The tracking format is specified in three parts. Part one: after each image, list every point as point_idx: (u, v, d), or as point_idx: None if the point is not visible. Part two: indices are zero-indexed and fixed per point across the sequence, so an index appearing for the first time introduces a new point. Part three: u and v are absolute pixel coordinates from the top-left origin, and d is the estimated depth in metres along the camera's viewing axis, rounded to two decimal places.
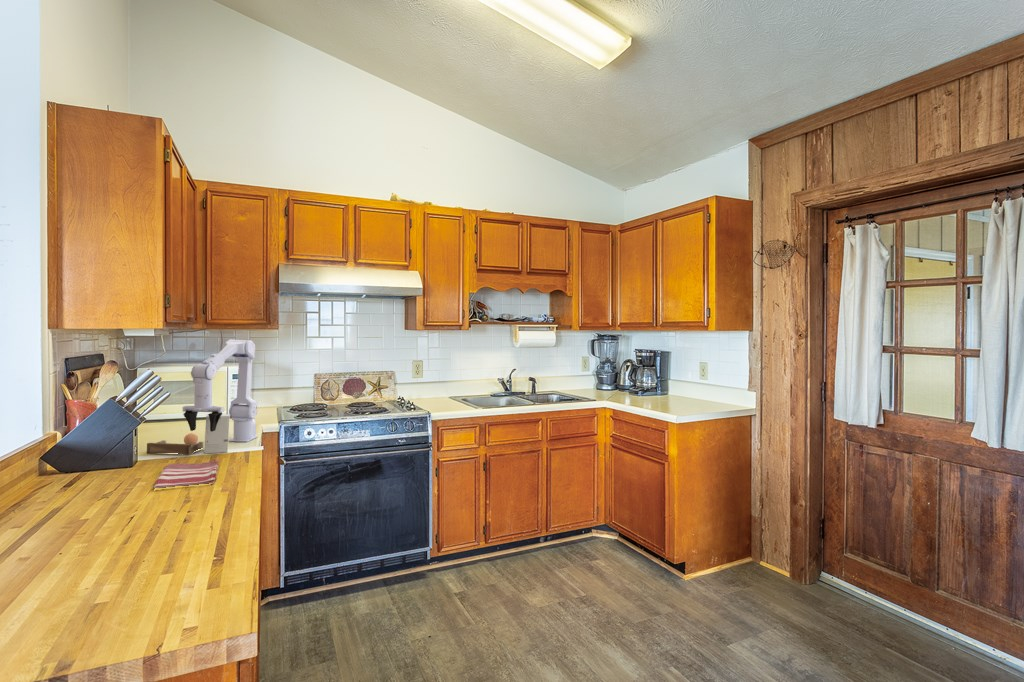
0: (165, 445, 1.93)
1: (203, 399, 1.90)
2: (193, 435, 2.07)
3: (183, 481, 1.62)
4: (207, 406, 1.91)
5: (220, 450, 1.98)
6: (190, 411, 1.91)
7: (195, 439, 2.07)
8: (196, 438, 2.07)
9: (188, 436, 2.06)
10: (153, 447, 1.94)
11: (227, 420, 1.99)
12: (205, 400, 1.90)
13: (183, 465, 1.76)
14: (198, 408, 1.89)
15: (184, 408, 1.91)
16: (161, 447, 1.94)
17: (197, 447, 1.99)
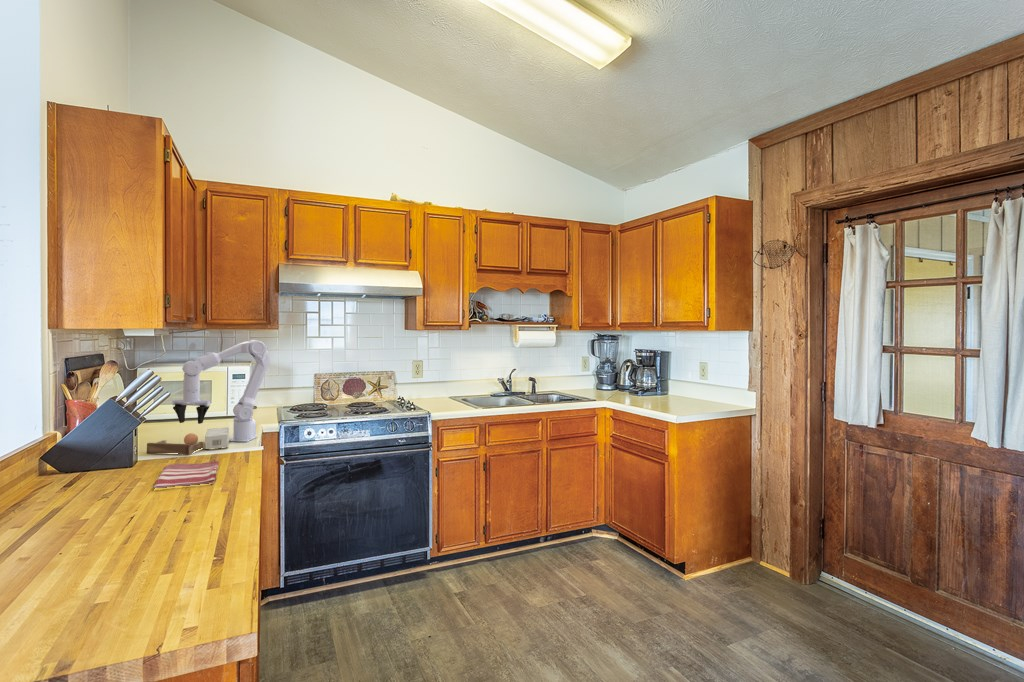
0: (165, 445, 1.93)
1: (191, 393, 2.04)
2: (193, 435, 2.07)
3: (183, 481, 1.62)
4: (195, 400, 2.05)
5: (220, 434, 2.04)
6: (179, 405, 2.06)
7: (195, 439, 2.07)
8: (196, 438, 2.07)
9: (188, 436, 2.06)
10: (153, 447, 1.94)
11: (227, 428, 2.15)
12: (193, 394, 2.05)
13: (183, 465, 1.76)
14: (186, 402, 2.03)
15: (174, 402, 2.06)
16: (161, 447, 1.94)
17: (197, 447, 1.99)
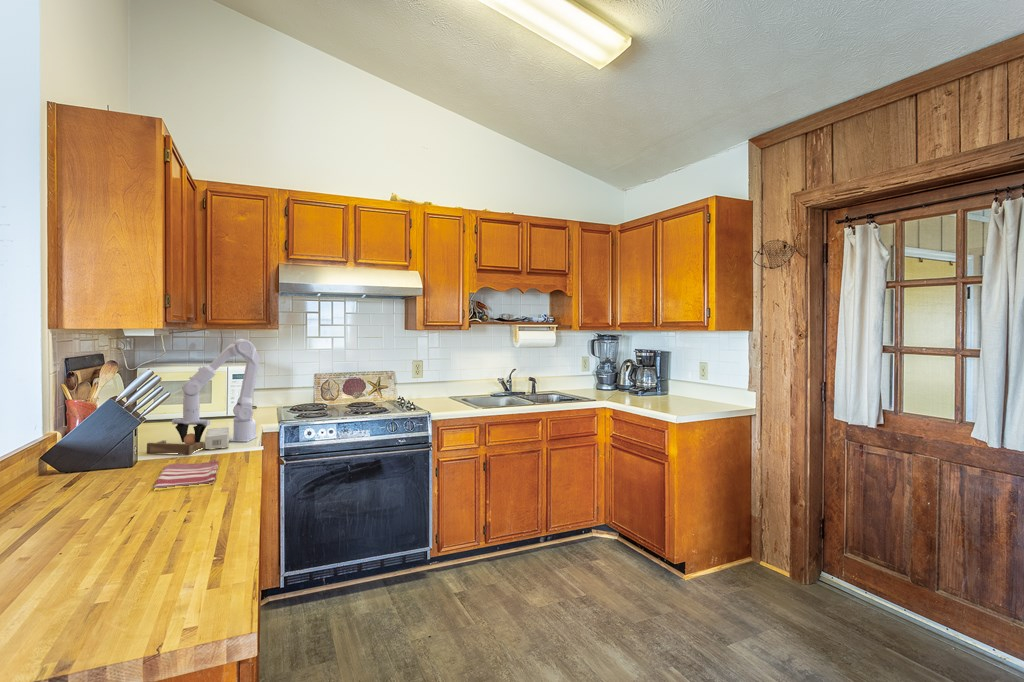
0: (165, 445, 1.93)
1: (191, 413, 2.05)
2: (193, 435, 2.07)
3: (183, 481, 1.62)
4: (195, 419, 2.06)
5: (220, 434, 2.04)
6: (179, 424, 2.06)
7: None
8: None
9: (188, 436, 2.06)
10: (153, 447, 1.94)
11: (227, 428, 2.15)
12: (193, 414, 2.05)
13: (183, 465, 1.76)
14: (186, 421, 2.04)
15: (173, 421, 2.06)
16: (161, 447, 1.94)
17: (197, 447, 1.99)
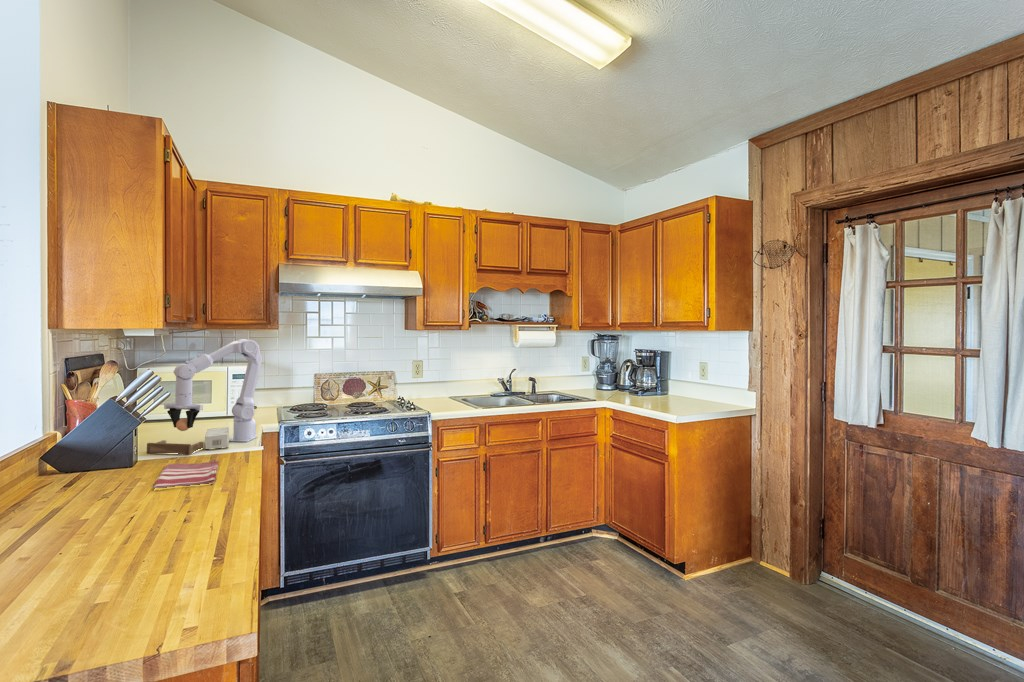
0: (165, 445, 1.93)
1: (183, 397, 2.00)
2: (186, 420, 2.02)
3: (183, 481, 1.62)
4: (187, 404, 2.01)
5: (220, 434, 2.04)
6: (171, 408, 2.02)
7: None
8: None
9: (180, 421, 2.01)
10: (153, 447, 1.94)
11: (227, 428, 2.15)
12: (185, 398, 2.00)
13: (183, 465, 1.76)
14: (178, 406, 1.99)
15: (166, 406, 2.01)
16: (161, 447, 1.94)
17: (197, 447, 1.99)
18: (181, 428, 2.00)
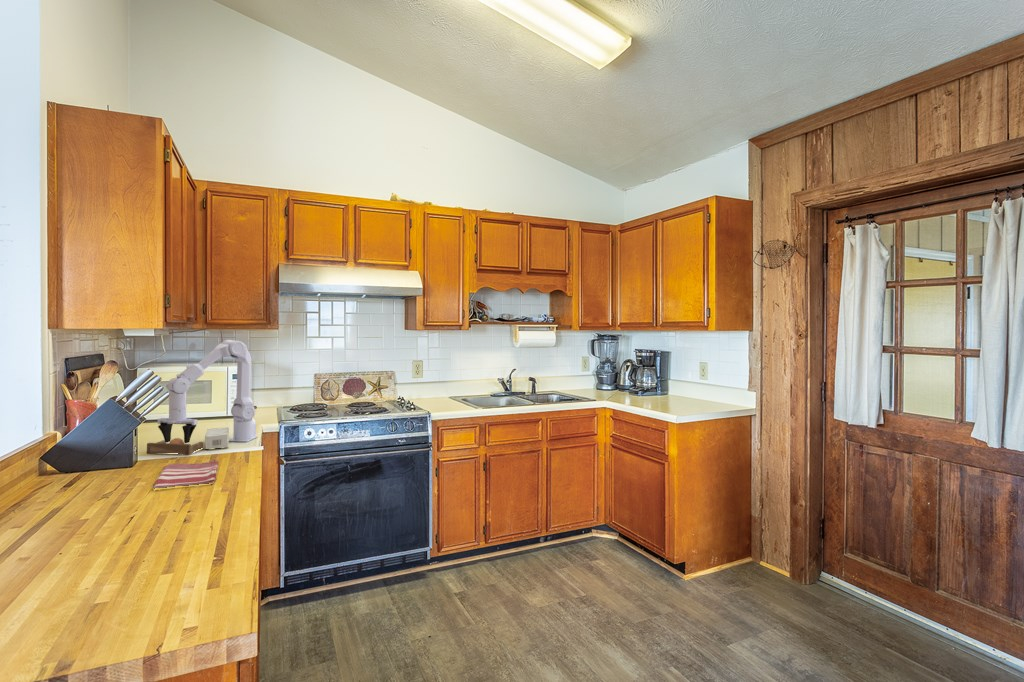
0: (165, 445, 1.93)
1: (177, 412, 1.96)
2: (178, 440, 1.98)
3: (183, 481, 1.62)
4: (181, 418, 1.97)
5: (220, 434, 2.04)
6: (165, 423, 1.98)
7: (180, 443, 1.98)
8: (182, 442, 1.99)
9: (173, 441, 1.97)
10: (153, 447, 1.94)
11: (227, 428, 2.15)
12: (179, 413, 1.96)
13: (183, 465, 1.76)
14: (172, 421, 1.95)
15: (159, 420, 1.98)
16: (161, 447, 1.94)
17: (197, 447, 1.99)
18: None
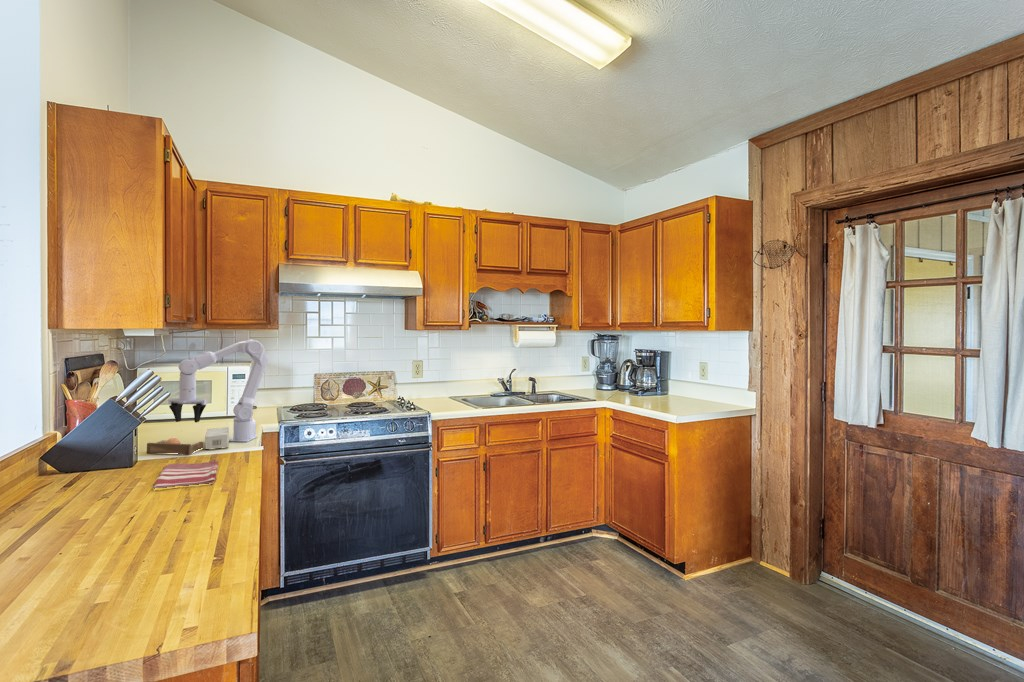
0: (165, 445, 1.93)
1: (187, 392, 2.04)
2: (171, 438, 1.98)
3: (183, 481, 1.62)
4: (191, 399, 2.05)
5: (220, 434, 2.04)
6: (175, 403, 2.06)
7: (174, 440, 1.98)
8: (176, 439, 1.99)
9: (167, 442, 1.97)
10: (153, 447, 1.94)
11: (227, 428, 2.15)
12: (189, 393, 2.04)
13: (183, 465, 1.76)
14: (183, 400, 2.03)
15: (170, 401, 2.05)
16: (161, 447, 1.94)
17: (197, 447, 1.99)
18: None
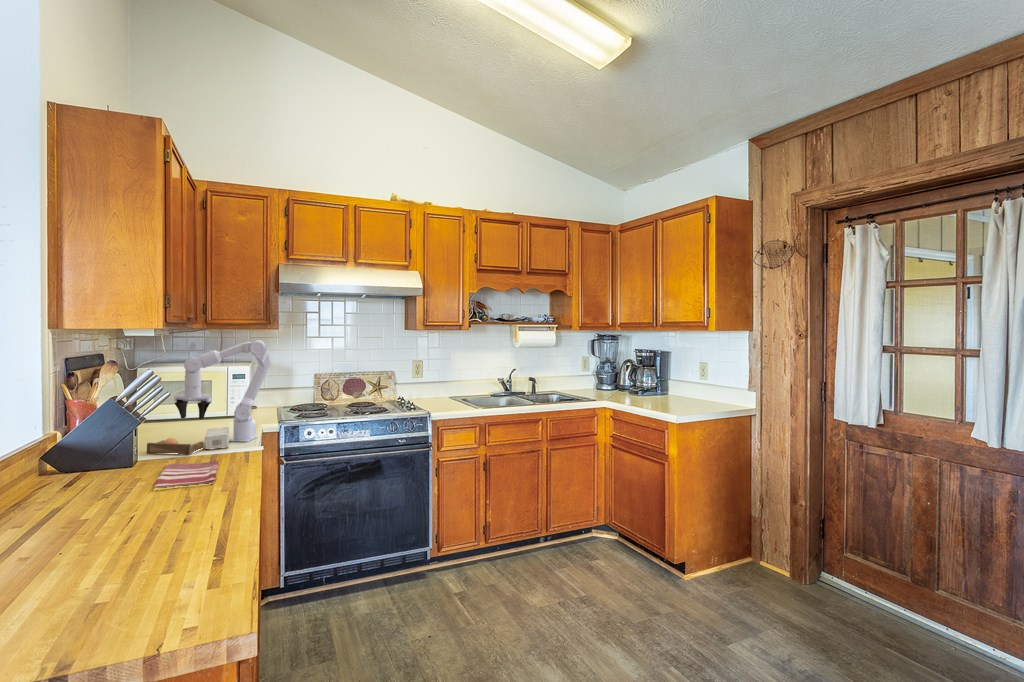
0: (165, 445, 1.93)
1: (192, 389, 2.08)
2: (167, 439, 1.98)
3: (183, 481, 1.62)
4: (196, 396, 2.09)
5: (220, 434, 2.04)
6: (181, 400, 2.10)
7: (171, 439, 1.98)
8: (172, 438, 1.99)
9: None
10: (153, 447, 1.94)
11: (227, 428, 2.15)
12: (194, 390, 2.09)
13: (182, 465, 1.76)
14: (188, 397, 2.07)
15: (175, 398, 2.10)
16: (161, 447, 1.94)
17: (197, 447, 1.99)
18: None
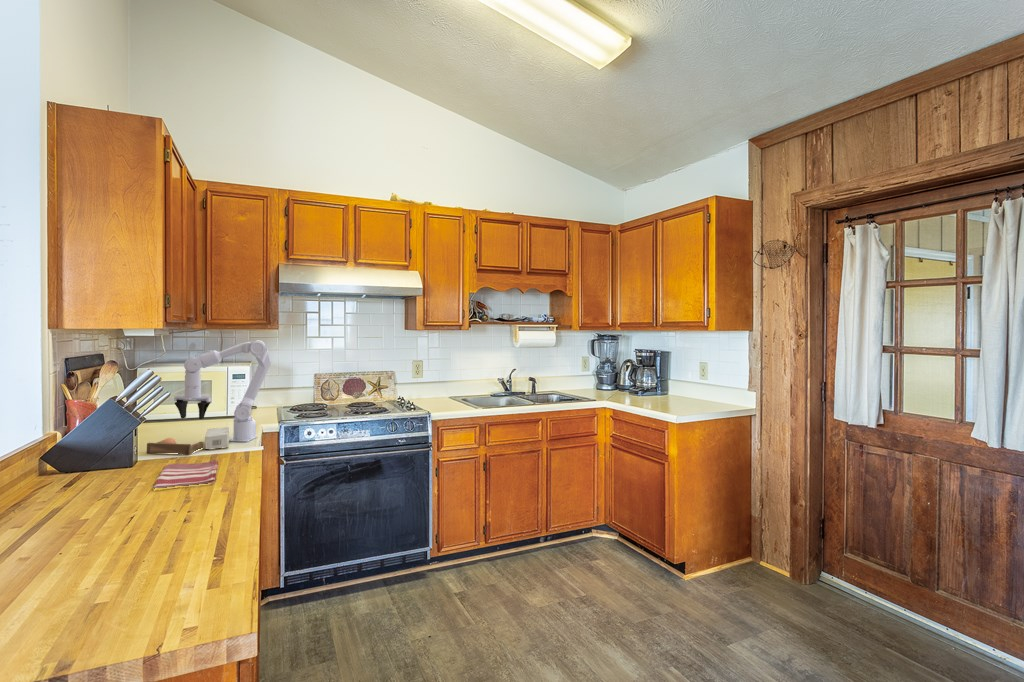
0: (165, 445, 1.93)
1: (192, 389, 2.08)
2: (164, 440, 1.98)
3: (183, 481, 1.62)
4: (196, 396, 2.09)
5: (220, 434, 2.04)
6: (181, 400, 2.10)
7: (167, 439, 1.98)
8: (168, 438, 1.99)
9: None
10: (153, 447, 1.94)
11: (227, 428, 2.15)
12: (194, 390, 2.09)
13: (182, 465, 1.76)
14: (188, 397, 2.07)
15: (175, 398, 2.10)
16: (161, 447, 1.94)
17: (197, 447, 1.99)
18: None
